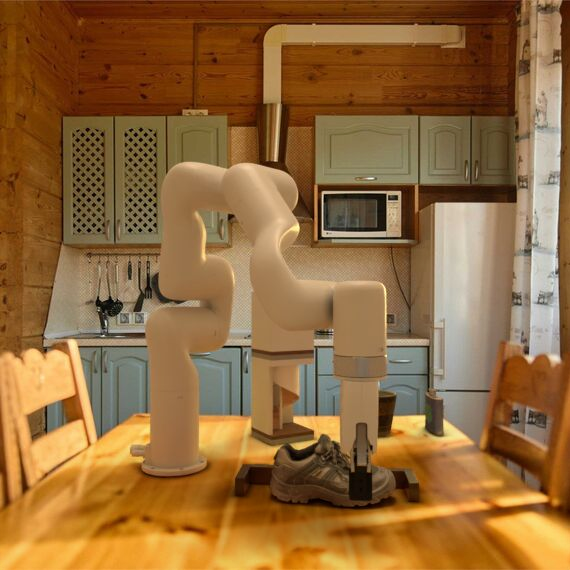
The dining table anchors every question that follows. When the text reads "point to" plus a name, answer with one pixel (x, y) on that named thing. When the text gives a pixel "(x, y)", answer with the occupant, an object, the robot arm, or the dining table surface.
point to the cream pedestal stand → (276, 377)
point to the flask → (433, 413)
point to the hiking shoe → (322, 475)
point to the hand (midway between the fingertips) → (360, 498)
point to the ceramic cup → (385, 411)
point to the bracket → (264, 472)
